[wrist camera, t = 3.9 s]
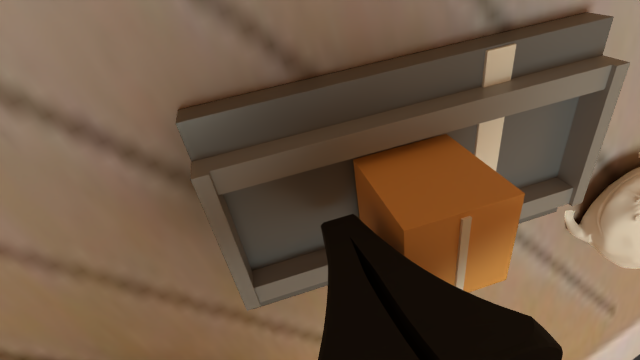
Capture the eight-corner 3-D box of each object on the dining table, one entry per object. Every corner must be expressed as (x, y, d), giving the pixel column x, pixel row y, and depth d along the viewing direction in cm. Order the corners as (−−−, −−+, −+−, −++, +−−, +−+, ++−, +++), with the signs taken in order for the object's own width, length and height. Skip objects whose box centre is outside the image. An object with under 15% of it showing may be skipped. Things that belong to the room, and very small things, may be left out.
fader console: (250, 290, 18) (255, 330, 16) (177, 110, 13) (173, 138, 11) (539, 199, 21) (574, 225, 19) (586, 12, 15) (644, 21, 13)
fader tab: (361, 234, 16) (407, 316, 13) (353, 159, 14) (405, 233, 10) (441, 209, 17) (508, 281, 13) (446, 134, 15) (527, 195, 11)
